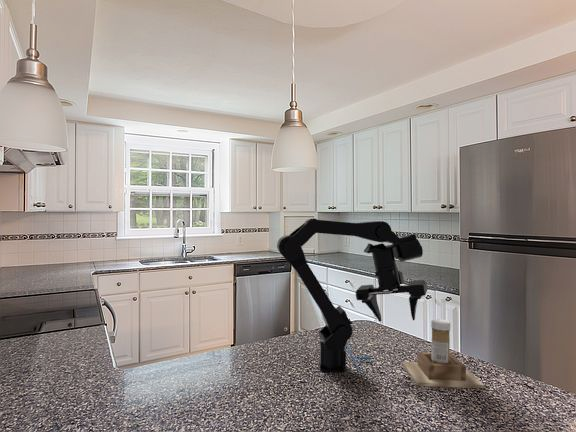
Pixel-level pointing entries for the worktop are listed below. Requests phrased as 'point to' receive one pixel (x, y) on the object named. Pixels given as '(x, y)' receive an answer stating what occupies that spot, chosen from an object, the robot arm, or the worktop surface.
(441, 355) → the sprinkles bottle
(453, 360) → the bottle stand
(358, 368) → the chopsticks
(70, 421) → the worktop surface
